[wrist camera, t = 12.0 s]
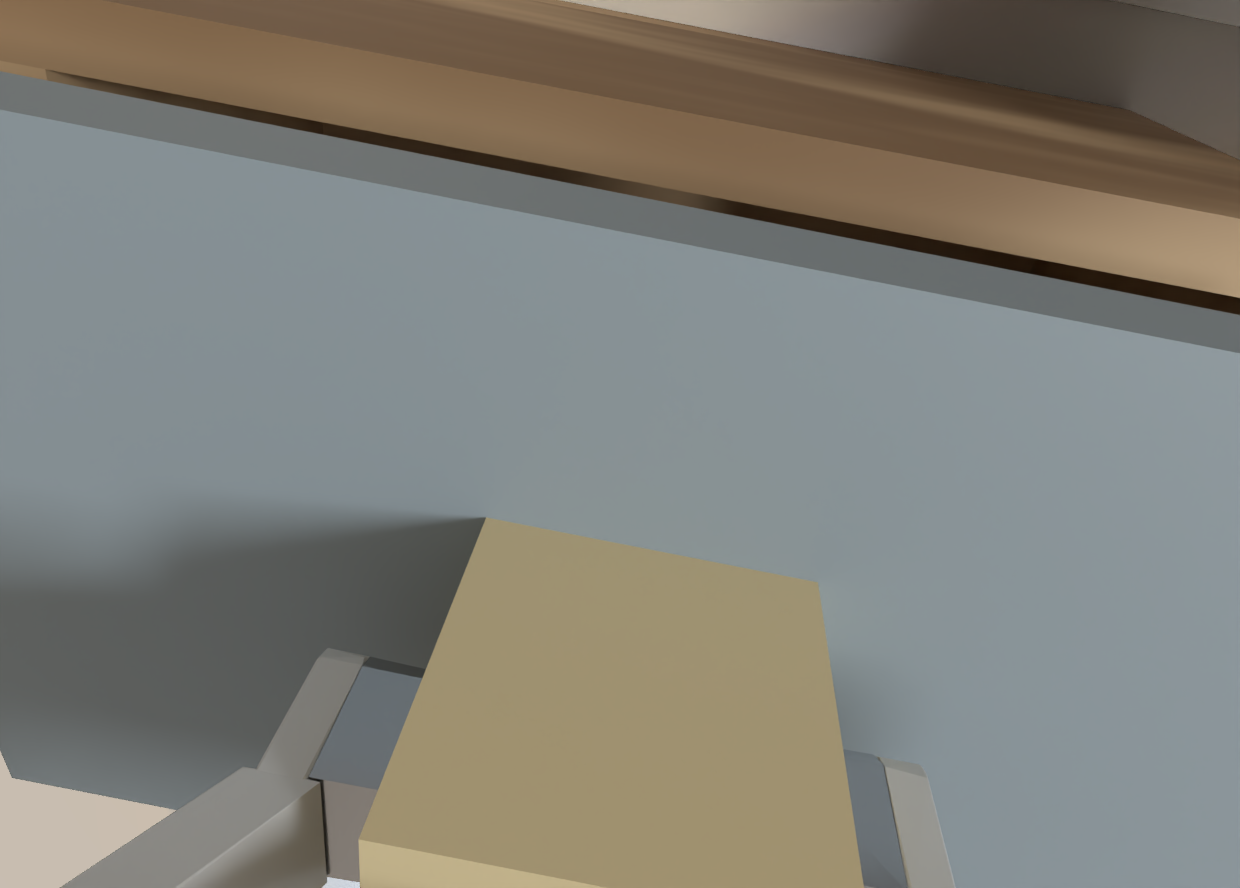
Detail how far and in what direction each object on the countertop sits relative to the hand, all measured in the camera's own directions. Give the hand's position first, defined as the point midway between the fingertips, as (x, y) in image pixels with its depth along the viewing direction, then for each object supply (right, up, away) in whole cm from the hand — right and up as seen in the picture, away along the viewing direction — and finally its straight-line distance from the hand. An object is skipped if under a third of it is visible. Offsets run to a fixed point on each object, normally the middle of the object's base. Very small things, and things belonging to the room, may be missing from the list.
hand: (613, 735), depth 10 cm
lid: (0, +1, +2) cm, 2 cm away
